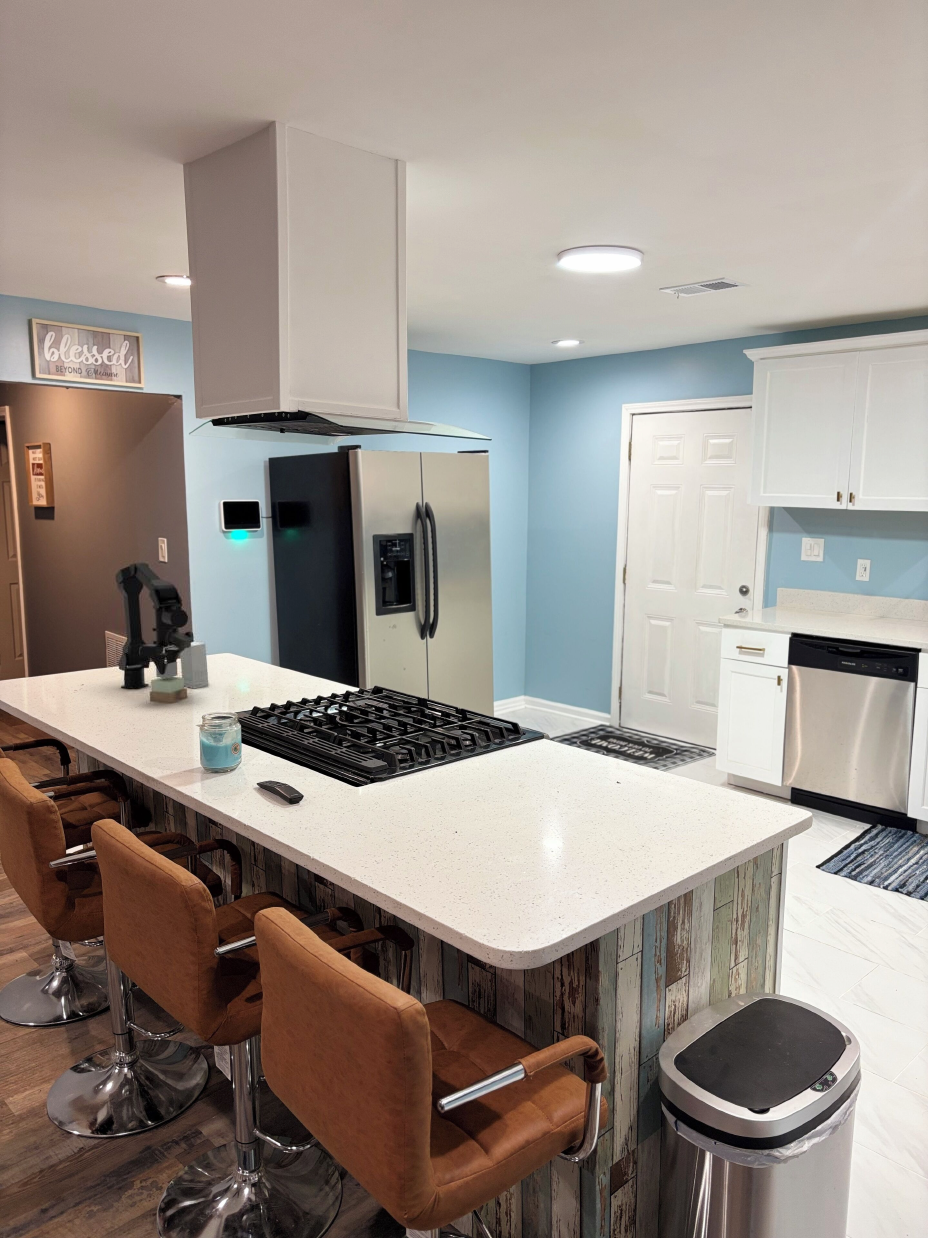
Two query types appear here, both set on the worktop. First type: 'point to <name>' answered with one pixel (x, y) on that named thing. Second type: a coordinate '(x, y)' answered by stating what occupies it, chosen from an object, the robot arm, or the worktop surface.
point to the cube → (168, 670)
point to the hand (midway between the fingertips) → (166, 673)
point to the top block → (167, 684)
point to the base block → (168, 696)
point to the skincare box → (194, 665)
